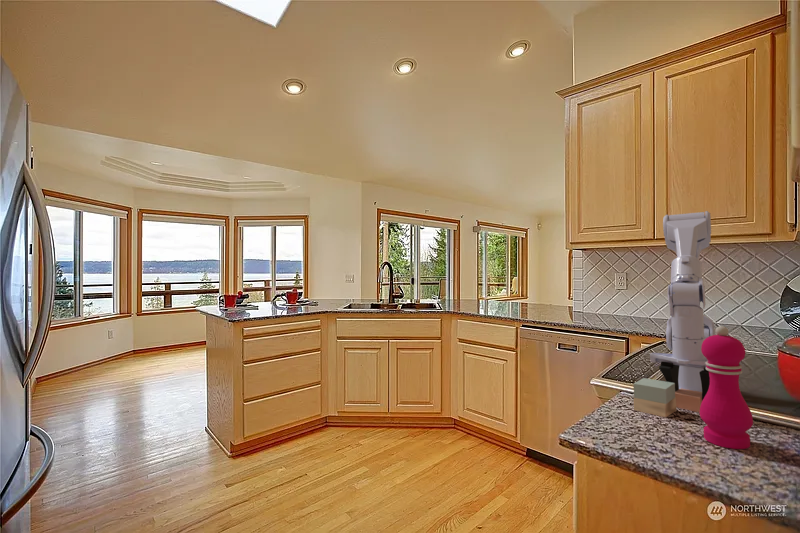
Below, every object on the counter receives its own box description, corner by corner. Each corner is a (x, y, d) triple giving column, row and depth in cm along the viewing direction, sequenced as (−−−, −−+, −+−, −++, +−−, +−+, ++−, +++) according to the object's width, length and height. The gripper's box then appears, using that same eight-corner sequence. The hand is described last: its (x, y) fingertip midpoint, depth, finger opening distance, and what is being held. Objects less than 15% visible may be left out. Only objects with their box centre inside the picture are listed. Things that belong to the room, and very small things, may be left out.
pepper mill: (699, 430, 75) (695, 322, 75) (751, 438, 71) (746, 324, 71) (701, 444, 69) (696, 327, 69) (757, 454, 65) (752, 330, 65)
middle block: (643, 391, 90) (643, 377, 90) (675, 397, 86) (674, 383, 86) (634, 397, 86) (633, 383, 86) (666, 403, 82) (665, 389, 82)
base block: (645, 405, 90) (645, 391, 90) (676, 411, 85) (676, 397, 85) (634, 411, 86) (633, 397, 86) (665, 419, 82) (665, 404, 82)
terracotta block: (681, 401, 91) (681, 388, 91) (708, 407, 87) (708, 393, 87) (672, 406, 88) (672, 392, 88) (700, 412, 84) (699, 398, 84)
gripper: (643, 335, 91) (645, 396, 90) (723, 344, 79) (726, 413, 79) (656, 332, 95) (658, 390, 95) (734, 339, 83) (737, 405, 83)
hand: (690, 400), depth 87 cm, fingers closed on terracotta block, 5 cm apart
